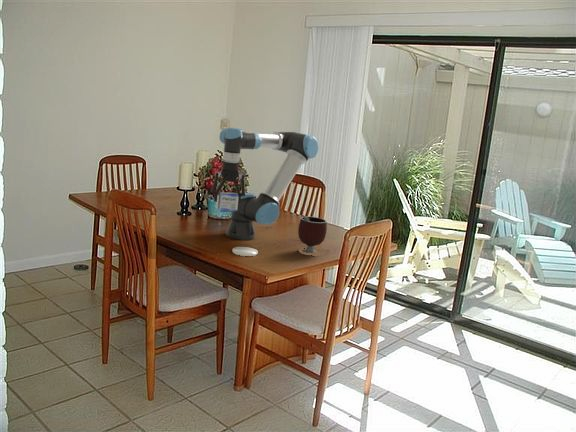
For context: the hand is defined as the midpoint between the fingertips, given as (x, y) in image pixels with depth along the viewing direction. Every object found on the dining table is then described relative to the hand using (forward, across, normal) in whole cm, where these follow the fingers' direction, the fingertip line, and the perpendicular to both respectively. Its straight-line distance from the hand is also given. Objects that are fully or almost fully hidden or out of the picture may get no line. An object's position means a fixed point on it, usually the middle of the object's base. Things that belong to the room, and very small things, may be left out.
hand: (226, 209), depth 263 cm
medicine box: (+1, 0, 0) cm, 1 cm away
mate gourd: (+20, +43, -1) cm, 47 cm away
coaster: (+19, +10, -6) cm, 22 cm away
